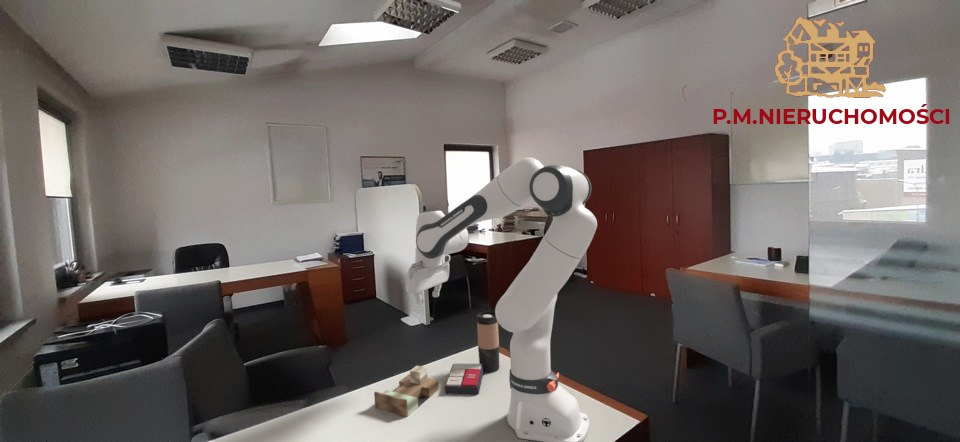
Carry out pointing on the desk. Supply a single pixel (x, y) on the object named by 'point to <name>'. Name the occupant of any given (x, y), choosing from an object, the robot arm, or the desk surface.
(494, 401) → the desk surface
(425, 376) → the block
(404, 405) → the stacked wooden blocks
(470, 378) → the red and grey box
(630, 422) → the desk surface
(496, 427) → the desk surface
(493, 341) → the travel mug
